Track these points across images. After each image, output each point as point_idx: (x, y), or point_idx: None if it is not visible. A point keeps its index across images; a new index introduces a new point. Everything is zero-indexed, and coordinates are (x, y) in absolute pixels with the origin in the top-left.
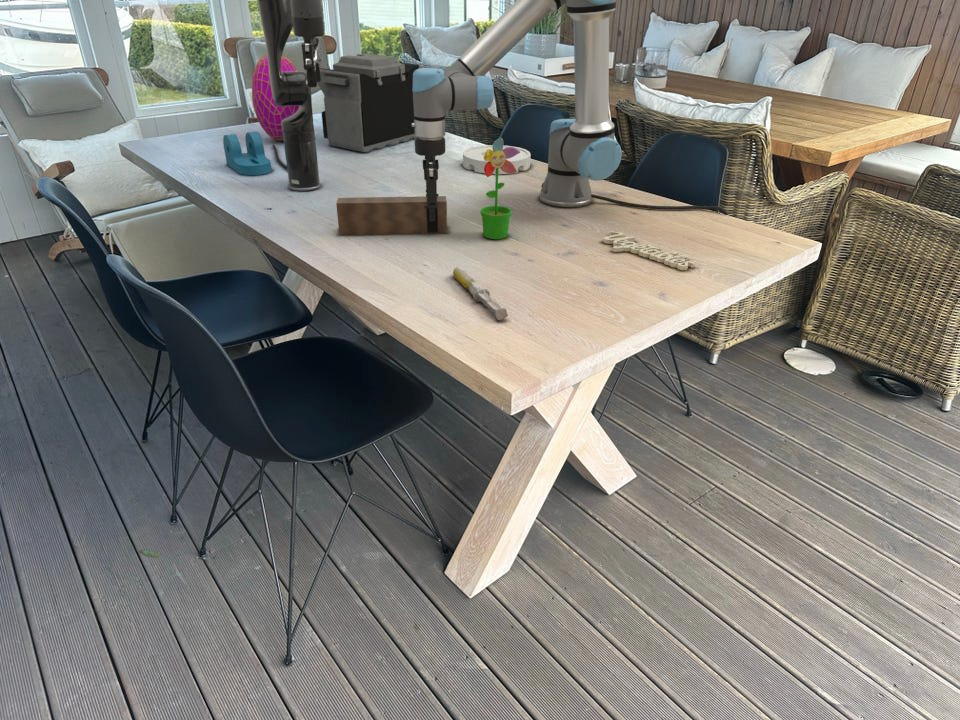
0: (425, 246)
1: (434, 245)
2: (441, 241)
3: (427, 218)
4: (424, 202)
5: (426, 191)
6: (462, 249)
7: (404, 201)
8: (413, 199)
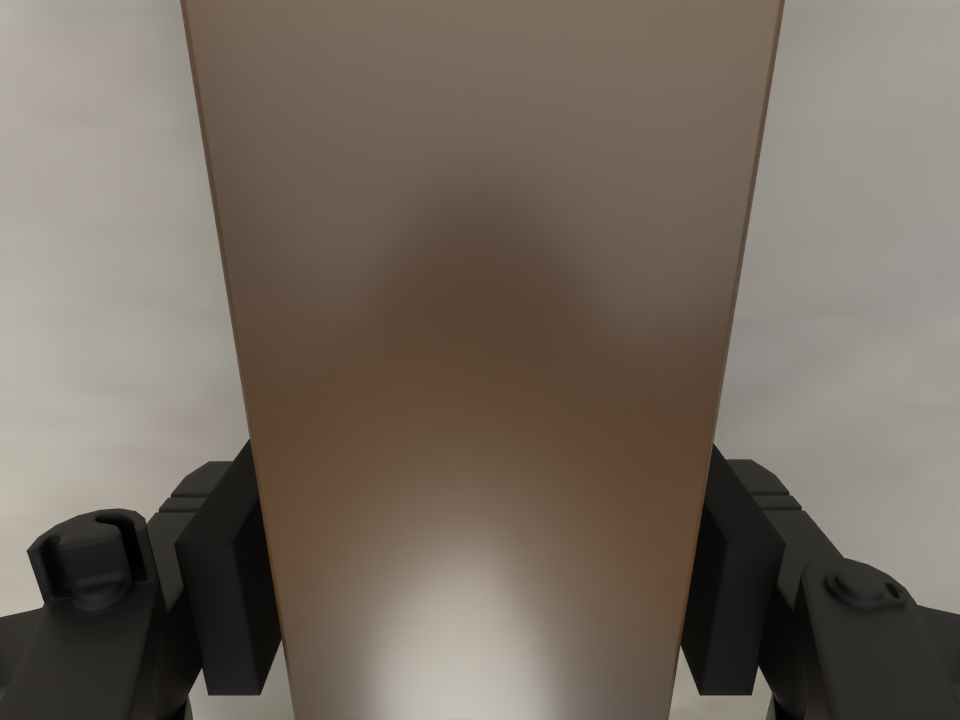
0: (8, 321)
1: (55, 405)
2: (175, 468)
3: (248, 448)
4: (270, 564)
5: (824, 692)
6: (10, 614)
7: (266, 59)
8: (465, 333)
